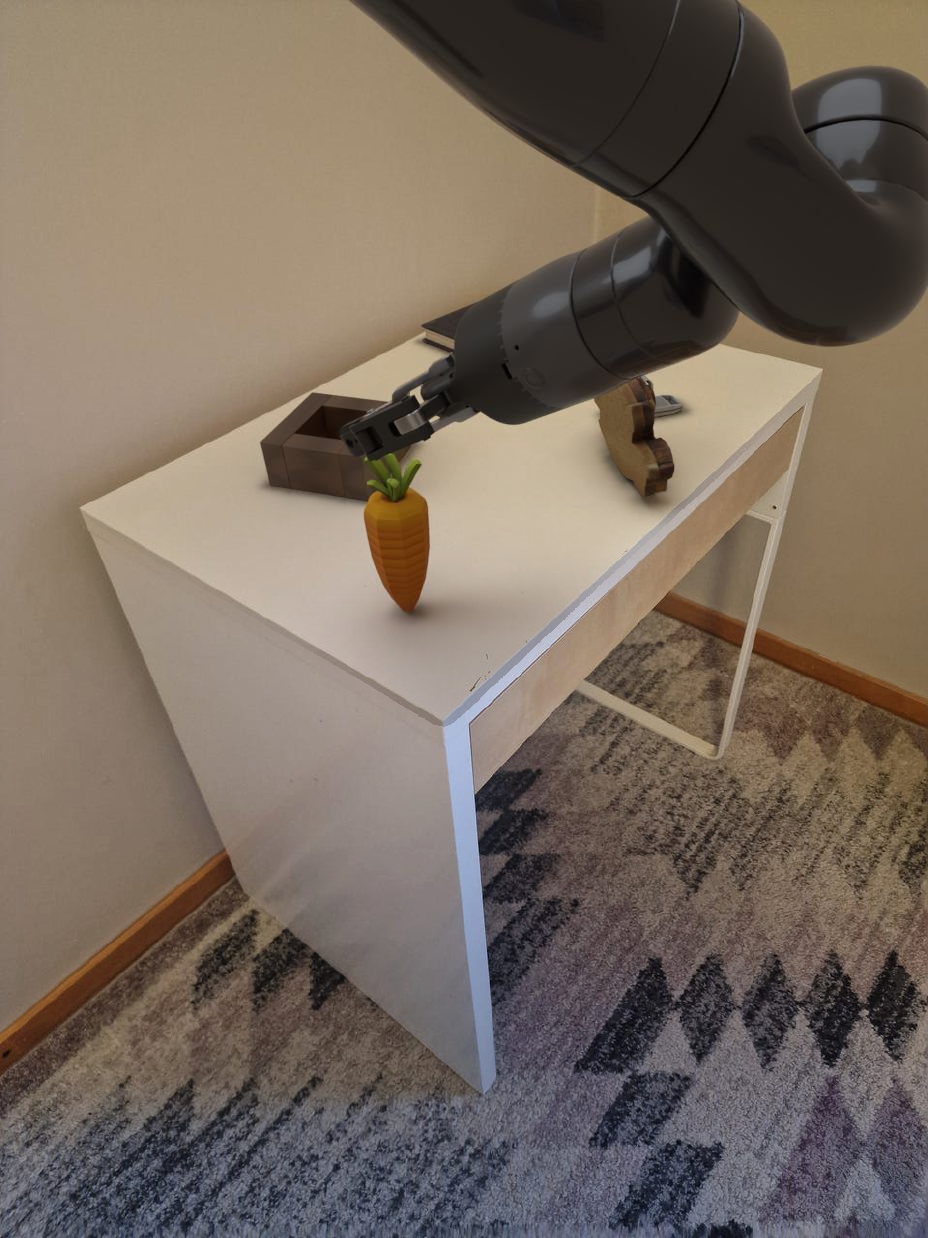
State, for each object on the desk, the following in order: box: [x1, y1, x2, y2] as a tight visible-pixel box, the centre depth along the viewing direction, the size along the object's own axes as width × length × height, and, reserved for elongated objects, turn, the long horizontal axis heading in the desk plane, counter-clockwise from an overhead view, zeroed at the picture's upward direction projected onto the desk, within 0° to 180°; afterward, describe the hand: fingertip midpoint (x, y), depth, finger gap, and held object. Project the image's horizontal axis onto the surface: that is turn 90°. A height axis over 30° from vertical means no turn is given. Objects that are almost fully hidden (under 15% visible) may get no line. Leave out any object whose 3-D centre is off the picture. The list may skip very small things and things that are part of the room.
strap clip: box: [640, 375, 683, 418], centre depth 94 cm, size 8×3×4 cm, turn 107°
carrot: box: [363, 454, 431, 613], centre depth 67 cm, size 5×5×15 cm
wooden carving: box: [593, 377, 676, 498], centre depth 83 cm, size 16×5×10 cm, turn 16°
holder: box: [259, 392, 412, 502], centre depth 88 cm, size 11×11×5 cm
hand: (390, 413), depth 60 cm, fingers open, 8 cm apart
